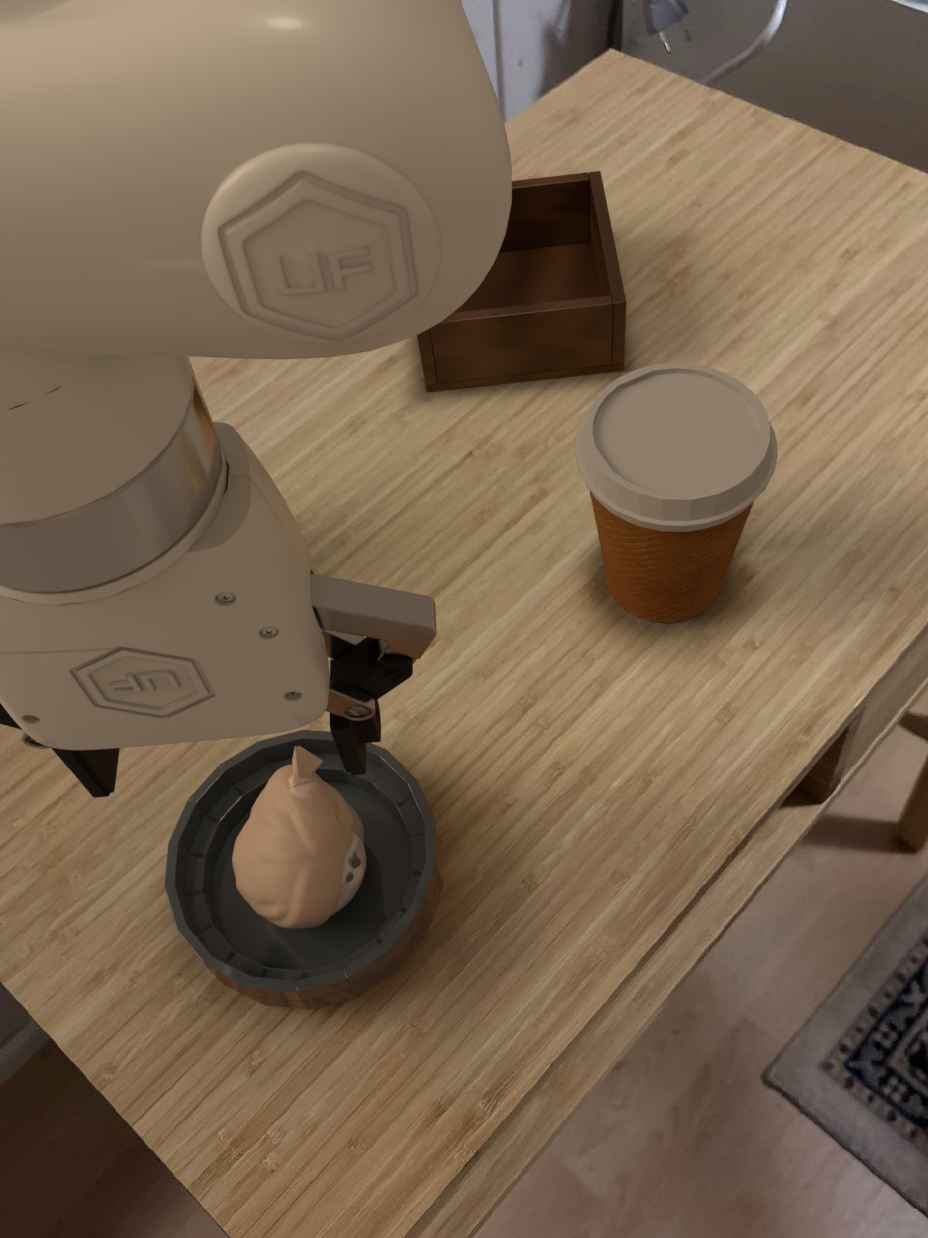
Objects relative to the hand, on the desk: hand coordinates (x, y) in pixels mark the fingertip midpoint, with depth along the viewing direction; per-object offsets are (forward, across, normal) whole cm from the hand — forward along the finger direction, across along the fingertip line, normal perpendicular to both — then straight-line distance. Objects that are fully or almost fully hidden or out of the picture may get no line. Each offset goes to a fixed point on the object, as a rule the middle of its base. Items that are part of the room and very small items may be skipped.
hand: (233, 751), depth 44 cm
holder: (+14, +14, +38) cm, 43 cm away
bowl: (+14, 0, 0) cm, 14 cm away
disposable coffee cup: (+14, +20, +16) cm, 29 cm away
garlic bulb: (+14, 0, 0) cm, 14 cm away
